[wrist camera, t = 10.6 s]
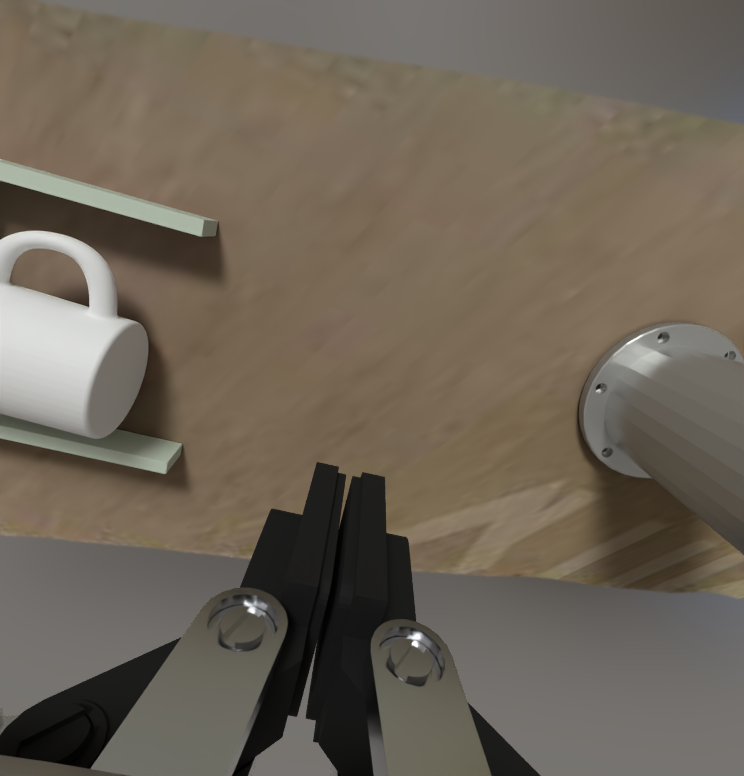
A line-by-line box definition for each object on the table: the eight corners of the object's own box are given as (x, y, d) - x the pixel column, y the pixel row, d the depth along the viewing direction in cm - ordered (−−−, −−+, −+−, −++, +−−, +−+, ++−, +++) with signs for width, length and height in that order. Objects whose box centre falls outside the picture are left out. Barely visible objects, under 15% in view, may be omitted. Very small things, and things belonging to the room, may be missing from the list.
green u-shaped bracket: (218, 221, 30) (204, 220, 28) (180, 454, 36) (165, 474, 33) (-21, 152, 29) (-63, 144, 26) (-22, 409, 34) (-56, 426, 31)
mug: (139, 411, 35) (79, 461, 27) (1, 373, 33) (-102, 414, 26) (168, 256, 31) (108, 265, 24) (14, 206, 30) (-100, 198, 22)
